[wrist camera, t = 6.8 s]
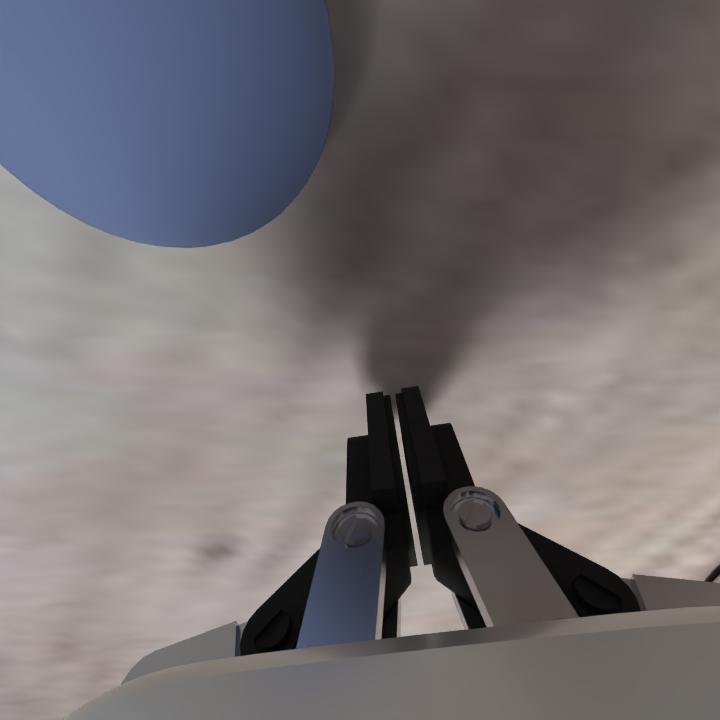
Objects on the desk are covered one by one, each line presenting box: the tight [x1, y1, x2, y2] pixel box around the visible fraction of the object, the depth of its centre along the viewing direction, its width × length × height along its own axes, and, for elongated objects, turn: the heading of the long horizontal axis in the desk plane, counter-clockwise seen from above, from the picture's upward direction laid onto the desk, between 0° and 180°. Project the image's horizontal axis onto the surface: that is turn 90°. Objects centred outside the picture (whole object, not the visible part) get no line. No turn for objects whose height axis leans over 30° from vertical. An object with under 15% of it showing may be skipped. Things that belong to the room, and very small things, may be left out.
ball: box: [0, 0, 334, 248], centre depth 6 cm, size 6×6×6 cm
